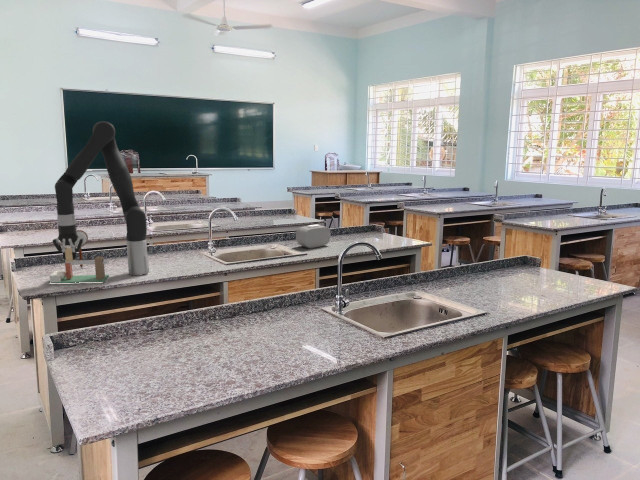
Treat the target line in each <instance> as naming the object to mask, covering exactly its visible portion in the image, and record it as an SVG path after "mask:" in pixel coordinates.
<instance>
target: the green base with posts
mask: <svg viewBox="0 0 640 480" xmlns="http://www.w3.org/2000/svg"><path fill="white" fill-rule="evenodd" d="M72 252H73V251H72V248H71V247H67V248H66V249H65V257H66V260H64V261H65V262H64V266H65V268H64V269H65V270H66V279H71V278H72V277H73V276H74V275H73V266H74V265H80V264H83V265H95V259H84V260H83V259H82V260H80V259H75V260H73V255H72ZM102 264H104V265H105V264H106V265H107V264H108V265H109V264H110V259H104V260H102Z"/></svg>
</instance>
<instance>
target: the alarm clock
mask: <svg viewBox="0 0 640 480" xmlns="http://www.w3.org/2000/svg"><path fill="white" fill-rule="evenodd" d="M331 234H332V232H331V229H330V228H329V227H327V226H324V225H320V224H310V225H309V224H308V225H306V226H301V227H299V228H298V229H297V230H296V233H295V240H296V243H297V244H298V245H300V246H301V247H303V248H307V249H314V248H319V247H324V246H326V245H328V243H330V240H331Z"/></svg>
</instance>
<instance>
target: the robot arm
mask: <svg viewBox="0 0 640 480" xmlns="http://www.w3.org/2000/svg"><path fill="white" fill-rule="evenodd" d="M115 136H116V128H115V126H114V124H112V123H110V122H109V121H104V120H103V121H98V122H96V123H95V124H94V125H93V127H92V134H91V137H90V138H89V140H88V141H87V143H86V144H85V146H83V148H82V149H81V151H79V152H78V153H77V155H76V156H75V157H74V158H73V160H72V161H71V162H70V163H69V165H68V167H67V168H66V170H65V172H63V174H62V175H61V176H60V177H59V178H58V179H57V180H56V183H54V190H55V197H56V214H57V217H56V221H57V230H58V237H56V238H53V240H52V243H53V245H54V247H55V249H57V251H58V252H60V253H62V259H63V260H64V261H66V257H65V249H66V248H68V246H70V248H72V251H73V252H72V255H73V260H77V258H78V255H77V254H78V252H79V250H80V249H81V250H82V247H83V246H82V244H83V241H84V238H79V237H78V236H77V224H76V223H77V221H76V215H75V207H74V205H75V204H74V201H73V200H74V194H73V192H74V191H73V190H74V189H73V188H74V187H75V185H76V184H77V182H78V181H79V180H81V178H82V177H84V174H85V173H86V172H87V170H88V169H89V168H90V166H91V164H92V163H93V161H95V159H96V157H97V156H98V154H99V153H100V152H101V153H102V156H103V160H104V163H105V164H104V165H105V168H106V171H107V173H108V177H109V180H110V182H111V185H112V186H113V189H114V191H115V193H116V196H117V197H118V199H119V203H120V206H121V210H122V214H123V218H124V221H125V223H126V224H125V225H126V235H125V236H126V237H125V238H126V252H127V267H128V268H127V269H128V275H129V274H130V276H134V275H137V276H142V275H141V274H145V275H148V274H149V272H150V267H149V266H150V265H149V264H150V263H149V253H148V247H147V234H148V233H147V232H148V230H147V229H148V228H147V214H146V213H145V211H144V210H142V208H141V207H140V205H139V202H138V201H137V199H136V195H135V191H134V184H133V179H132V176H131V174H130V173H131V172H130V171H129V168H128V165H127V163H126V161H125V159H124V158H123V155H122V154H121V152H120V150H119V148H118V144H117V141H116V138H115ZM77 240H78V242H79V244H78V247H76V244H75V242H76V241H77ZM60 242H61V244H62V245H61V244H60ZM147 273H148V274H147Z"/></svg>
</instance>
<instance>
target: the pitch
mask: <svg viewBox="0 0 640 480" xmlns="http://www.w3.org/2000/svg"><path fill="white" fill-rule="evenodd" d="M94 260H95V264H94V267H95V274H90V275H89V274H87V275H73V277H72V278H71V279H66V278H64V279H61V275H57V273H58V272H59V271H60V270H55V271H53V273H51V274H50V275H49V282H51V283H75V282H76V283H79V282H104V281H105V280H106V279H107V278H109V277H110V274H106V273H105V271H106V269H105V264H102V260H105V258H104V256H100V255H99V256H96V257H95V258H94ZM63 271H64V272H65V273H66V269H65V270H63ZM106 281H107V280H106ZM106 281H105V282H106ZM105 282H104V283H105Z"/></svg>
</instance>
